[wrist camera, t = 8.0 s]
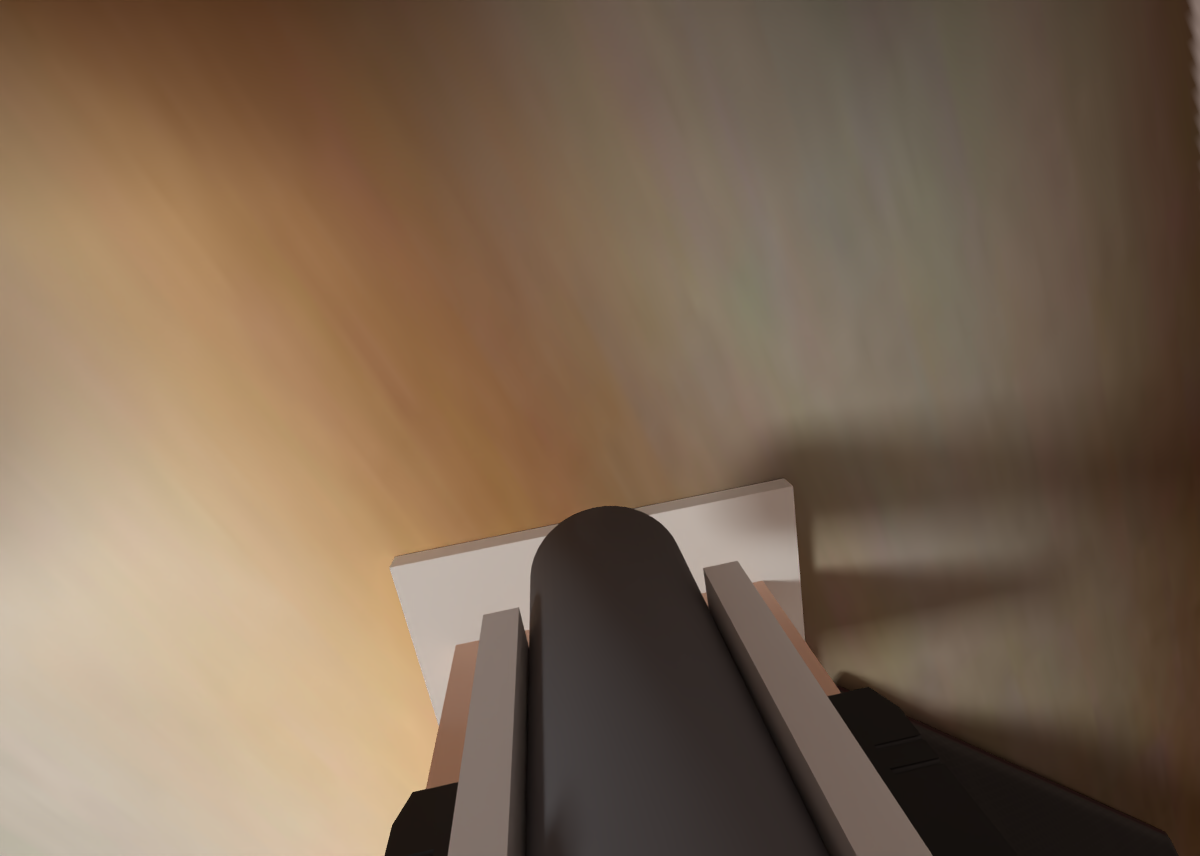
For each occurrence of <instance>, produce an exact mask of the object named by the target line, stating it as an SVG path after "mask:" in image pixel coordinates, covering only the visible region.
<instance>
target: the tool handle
mask: <svg viewBox="0 0 1200 856" xmlns="http://www.w3.org/2000/svg"><path fill="white" fill-rule="evenodd" d="M525 856H830V854H829V852H828V850H827V848H826V846H825V844H824V842H823V840H822V838H821V836H820V834H819V832H818V830H817V828H816V826H815V824H814V822H813V820H812V818H811V816H810V814H809V812H808V810H807V808H806V806H805V803H804V801H803V799H802V797H801V795H800V793H799V791H798V789H797V787H796V785H795V783H794V781H793V779H792V777H791V775H790V773H789V771H788V769H787V767H786V765H785V763H784V761H783V759H782V757H781V755H780V753H779V751H778V748H777V746H776V744H775V742H774V740H773V738H772V736H771V734H770V732H769V730H768V728H767V726H766V724H765V722H764V720H763V718H762V716H761V714H760V712H759V710H758V708H757V706H756V704H755V702H754V700H753V698H752V696H751V693H750V691H749V689H748V687H747V685H746V683H745V681H744V679H743V677H742V675H741V673H740V671H739V669H738V667H737V665H736V663H735V661H734V659H733V657H732V655H731V653H730V651H729V649H728V647H727V645H726V643H725V640H724V638H723V636H722V634H721V632H720V630H719V628H718V626H717V624H716V622H715V620H714V618H713V616H712V614H711V612H710V610H709V608H708V606H707V604H706V602H705V600H704V598H703V596H702V594H701V592H700V590H699V588H698V585H697V583H696V581H695V579H694V577H693V575H692V573H691V571H690V569H689V567H688V565H687V563H686V561H685V559H684V557H683V555H682V553H681V551H680V549H679V547H678V545H677V543H676V541H675V539H674V538H673V536H672V535H671V534H670V532H669V531H668V530H667V529H666V528H665V527H664V526H663V525H662V524H661V523H660V522H659V521H657V520H656V519H654V518H653V517H651V516H649V515H647V514H646V513H643V512H641V511H638V510H635V509H631V508H627V507H619V506H603V507H596V508H591V509H588V510H584V511H582V512H579V513H577V514H574V515H572V516H571V517H569V518H567V519H565V520H564V521H562V522H561V523H560V524H558V525H557V526H556V527H555V528H554V529H553V530H552V531H550V532H549V534H548V535H547V536H546V537H545V538H544V540H543V541H542V543H541V544H540V546H539V548H538V550H537V552H536V554H535V556H534V559H533V563H532V567H531V574H530V622H529V678H528V735H527V791H526V847H525Z"/></svg>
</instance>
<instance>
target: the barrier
mask: <svg viewBox="0 0 1200 856" xmlns="http://www.w3.org/2000/svg"><path fill="white" fill-rule="evenodd" d="M836 686H837V688H838V689H839V691H840V692H841V693H844V692H848V691H850V690H847V689H845V688H843V687H841V686H838V685H836ZM906 717H907V718H908V719H909V720H910V722H911V723H912V724H913V725H914V727H915V728H916V729H917V730H918V732H919V733H920V734H921V737H922V739H923V740H926V741H927V743H928V744H929V745H930V746H931V748H932V749H933V750H934V751H935V753H936V754H937V755H938V756H939V759H940V761H941V763H942V764H943V763H944V764H945V765H946V766H947V768H948V769H949V770H950V771H951V773H952V774H953V775H954V776H955V778H956V779H957V780H958V781H959V783H960V784H961V785H962V786H963V787H964V789H965V790H966V791H967V792H968V794H969V795H970V796H971V797H972V799H973V800H974V801H975V802H976V804H977V805H978V806H979V807H980V809H981V810H982V811H983V812H984V814H985V815H986V816H987V817H988V819H989V820H990V821H991V822H992V824H993V825H994V826H995V827H996V829H997V830H998V831H999V832H1000V834H1001V835H1002V836H1003V837H1004V838H1005V840H1006V841H1007V842H1008V843H1009V845H1010V846H1011V847H1012V848H1013V850H1014V851H1015V852H1016V853H1017V855H1018V856H1178V854H1177V852H1176V850H1175V848H1174V846H1173V844H1172V842H1171V840H1170V838H1169V837H1168V835H1167V834H1166V833H1165V832H1164V831H1162V830H1160V829H1157V828H1155V827H1153V826H1151V825H1148V824H1146V823H1144V822H1142V821H1139V820H1137V819H1135V818H1133V817H1131V816H1128V815H1126V814H1124V813H1122V812H1119V811H1117V810H1115V809H1113V808H1111V807H1108V806H1106V805H1104V804H1102V803H1099V802H1097V801H1095V800H1093V799H1090V798H1088V797H1086V796H1084V795H1082V794H1079V793H1077V792H1075V791H1073V790H1070V789H1068V788H1066V787H1064V786H1061V785H1059V784H1057V783H1055V782H1053V781H1050V780H1048V779H1046V778H1044V777H1041V776H1039V775H1037V774H1035V773H1032V772H1030V771H1028V770H1026V769H1024V768H1021V767H1019V766H1017V765H1015V764H1012V763H1010V762H1008V761H1006V760H1003V759H1001V758H999V757H997V756H995V755H992V754H990V753H988V752H986V751H983V750H981V749H979V748H977V747H974V746H972V745H970V744H968V743H966V742H963V741H961V740H959V739H957V738H954V737H952V736H950V735H948V734H945V733H943V732H941V731H939V730H937V729H934V728H932V727H930V726H928V725H925V724H923V723H921V722H919V721H916V720H914V719H912V718H910V717H908V716H906Z"/></svg>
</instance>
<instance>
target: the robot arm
mask: <svg viewBox="0 0 1200 856" xmlns="http://www.w3.org/2000/svg"><path fill="white" fill-rule="evenodd" d="M703 572H704V579H705V586H706V593H707V600H708V608H709V610H710V612H711V614H712V616H713V618H714V620H715V622H716V624H717V626H718V628H719V630H720V632H721V634H722V636H723V638H724V640H725V643H726V645H727V647H728V649H729V651H730V653H731V655H732V657H733V659H734V661H735V663H736V665H737V667H738V669H739V671H740V673H741V675H742V677H743V679H744V681H745V683H746V685H747V687H748V689H749V691H750V693H751V696H752V698H753V700H754V702H755V704H756V706H757V708H758V710H759V712H760V714H761V716H762V718H763V720H764V722H765V724H766V726H767V728H768V730H769V732H770V734H771V736H772V738H773V740H774V742H775V744H776V746H777V748H778V751H779V753H780V755H781V757H782V759H783V761H784V763H785V765H786V767H787V769H788V771H789V773H790V775H791V777H792V779H793V781H794V783H795V785H796V787H797V789H798V791H799V793H800V795H801V797H802V799H803V801H804V803H805V806H806V808H807V810H808V812H809V814H810V816H811V818H812V820H813V822H814V824H815V826H816V828H817V830H818V832H819V834H820V836H821V838H822V840H823V842H824V844H825V846H826V848H827V850H828V852H829V854H830V856H1018V855H1017V853H1016V852H1015V851H1014V850H1013V848H1012V847H1011V846H1010V845H1009V843H1008V842H1007V841H1006V840H1005V838H1004V837H1003V836H1002V835H1001V834H1000V832H999V831H998V830H997V829H996V827H995V826H994V825H993V824H992V822H991V821H990V820H989V819H988V817H987V816H986V815H985V814H984V812H983V811H982V810H981V809H980V807H979V806H978V805H977V804H976V802H975V801H974V800H973V799H972V797H971V796H970V795H969V794H968V792H967V791H966V790H965V789H964V787H963V786H962V785H961V784H960V783H959V781H958V780H957V779H956V778H955V776H954V775H953V774H952V773H951V771H950V770H949V769H948V768H947V766H946V765H945V764H944V763H943V764H942V763H941V761H940V759H939V756H938V755H937V754H936V753H935V751H934V750H933V749H932V748H931V746H930V745H929V744H928V743H927V741H926V740H923V739H922V737H921V734H920V733H919V732H918V730H917V729H916V728H915V727H914V725H913V724H912V723H911V722H910V720H909V719H908V718H907V717H906V715H905V714H904V713H903V712H902V710H901V709H900V708H899V707H898V706H896V705H895V704H893V703H892V702H890V701H889V700H887V699H886V698H884V697H883V696H881V695H880V694H878V693H877V692H875V691H874V690H872V689H871V688H869V687H866V688H862V689H857V690H853V691H848V692H844V693H839V694H835V695H831V696H827V695H826V694H825V692H824V691H823V689H822V688H821V686H820V685H819V683H818V682H817V680H816V678H815V677H814V675H813V674H812V672H811V671H810V669H809V668H808V666H807V665H806V663H805V662H804V660H803V659H802V657H801V656H800V654H799V653H798V651H797V650H796V648H795V647H794V645H793V644H792V642H791V641H790V639H789V638H788V636H787V635H786V633H785V632H784V630H783V629H782V627H781V626H780V624H779V623H778V621H777V620H776V618H775V616H774V615H773V613H772V612H771V610H770V609H769V607H768V606H767V604H766V603H765V601H764V600H763V598H762V597H761V595H760V594H759V592H758V591H757V589H756V588H755V586H754V585H753V583H752V582H751V580H750V579H749V577H748V576H747V574H746V573H745V571H744V570H743V568H742V567H741V565H740V564H739V562H738V561H734V562H729V563H724V564H720V565H715V566H710V567H705V568H703ZM528 678H529V645H528V641H527V637H526V633H525V629H524V625H523V621H522V617H521V613H520V609H519V607H518V608H513V609H508V610H503V611H499V612H494V613H489V614H485V615H483V619H482V626H481V632H480V639H479V646H478V653H477V660H476V666H475V673H474V680H473V687H472V694H471V700H470V707H469V714H468V721H467V728H466V734H465V741H464V748H463V755H462V761H461V768H460V775H459V782H456V783H451V784H447V785H442V786H438V787H434V788H429V789H425V790H420V791H416V792H413V793H412V794H411V796H410V798H409V799H408V801H407V802H406V804H405V806H404V807H403V809H402V810H401V812H400V814H399V815H398V817H397V818H396V820H395V822H394V823H393V825H392V828H391V832H390V836H389V840H388V844H387V848H386V852H385V856H525V847H526V791H527V735H528Z"/></svg>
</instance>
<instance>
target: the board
mask: <svg viewBox="0 0 1200 856" xmlns="http://www.w3.org/2000/svg"><path fill="white" fill-rule="evenodd" d="M635 510H638V511H641V512H643V513H646V514H647V515H649V516H651V517H653V518H654V519H656V520H657V521H659V522H660V523H661V524H662V525H663V526H664V527H665V528H666V529H667V530H668V531H669V532H670V534H671V535H672V536H673V538H674V539H675V541H676V543H677V545H678V547H679V549H680V551H681V553H682V555H683V557H684V559H685V561H686V563H687V565H688V567H689V569H690V571H691V573H692V575H693V577H694V579H695V581H696V583H697V585H698V588H699V590H700V592H701V593H706V586H705V579H704V572H703V568H705V567H710V566H715V565H720V564H724V563H729V562H734V561H738V562H739V564H740V565H741V567H742V568H743V570H744V571H745V573H746V574H747V576H748V577H749V579H750V580H751V582H752V583H753V582H758V581H763V582H764V583H765V585H766V586H767V588H768V589H769V590H770V592H771V593H772V595H773V596H774V598H775V599H776V600H777V602H778V603H779V605H780V606H781V608H782V609H783V610H784V612H785V613H786V615H787V616H788V618H789V619H790V620H791V622H792V623H793V625H794V626H795V628H796V629H797V631H798V632H799V633H800V635H801V636H802V638H803V639H804V641H805V632H804V620H803V607H802V594H801V581H800V569H799V556H798V543H797V531H796V518H795V505H794V492H793V486H792V485H791V484H790V483H789V482H788V481H787V480H786V479H785V478H783V479H778V480H773V481H768V482H764V483H759V484H754V485H749V486H744V487H739V488H734V489H729V490H724V491H719V492H714V493H709V494H704V495H699V496H694V497H689V498H684V499H679V500H674V501H669V502H664V503H659V504H654V505H649V506H644V507H639V508H635ZM557 525H558V524H555V525H550V526H545V527H540V528H535V529H530V530H525V531H520V532H515V533H511V534H506V535H501V536H496V537H491V538H486V539H481V540H476V541H471V542H466V543H461V544H456V545H451V546H446V547H441V548H436V549H431V550H426V551H421V552H416V553H411V554H406V555H401V556H396V557H394V559H393V561H392V564H391V566H390V571H391V574H392V577H393V581H394V584H395V587H396V590H397V593H398V597H399V600H400V603H401V606H402V609H403V613H404V616H405V619H406V622H407V625H408V629H409V632H410V635H411V638H412V641H413V645H414V648H415V651H416V654H417V658H418V661H419V664H420V667H421V670H422V674H423V677H424V680H425V683H426V686H427V690H428V693H429V696H430V699H431V702H432V706H433V709H434V712H435V715H436V719H437V722H438V725H439V724H440V719H441V714H442V709H443V704H444V700H445V695H446V690H447V685H448V680H449V675H450V671H451V666H452V661H453V656H454V651H455V646H456V645H459V644H463V643H468V642H473V641H478V640H479V639H480V632H481V626H482V619H483V615H485V614H489V613H494V612H499V611H503V610H508V609H513V608H518V607H519V609H520V613H521V617H522V621H523V625H524V629H525V630H529V622H530V574H531V567H532V563H533V559H534V556H535V554H536V552H537V550H538V548H539V546H540V544H541V543H542V541H543V540H544V538H545V537H546V536H547V535H548V534H549V532H550V531H552V530H553V529H554V528H555V527H556V526H557Z"/></svg>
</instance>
